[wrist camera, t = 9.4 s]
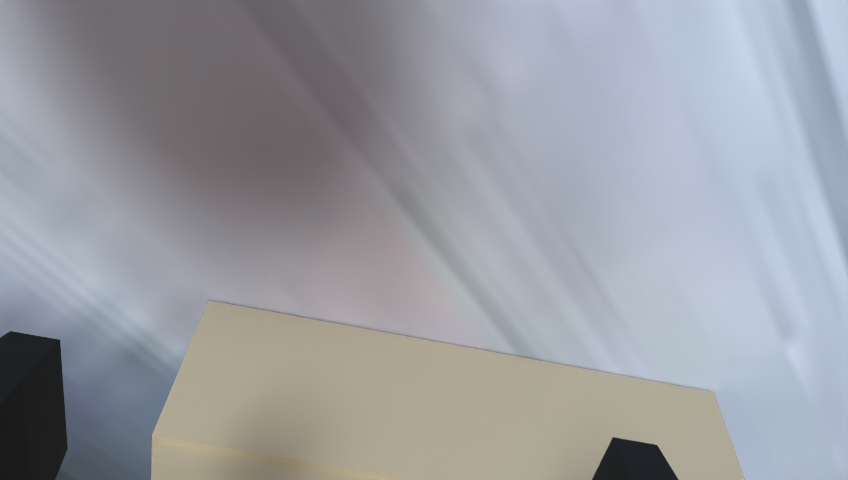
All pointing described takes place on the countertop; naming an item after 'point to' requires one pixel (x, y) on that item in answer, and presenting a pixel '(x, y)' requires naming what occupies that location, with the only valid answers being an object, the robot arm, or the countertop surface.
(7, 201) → the countertop surface
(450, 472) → the carton
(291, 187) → the countertop surface
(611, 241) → the countertop surface
